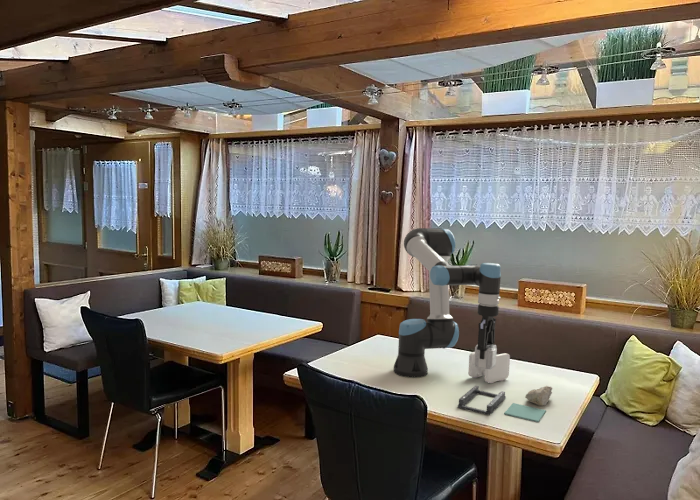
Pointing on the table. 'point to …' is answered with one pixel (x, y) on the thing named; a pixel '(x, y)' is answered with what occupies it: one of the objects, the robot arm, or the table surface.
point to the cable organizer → (495, 373)
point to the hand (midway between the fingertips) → (485, 364)
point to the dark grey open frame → (475, 390)
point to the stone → (539, 395)
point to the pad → (525, 412)
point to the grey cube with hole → (490, 356)
